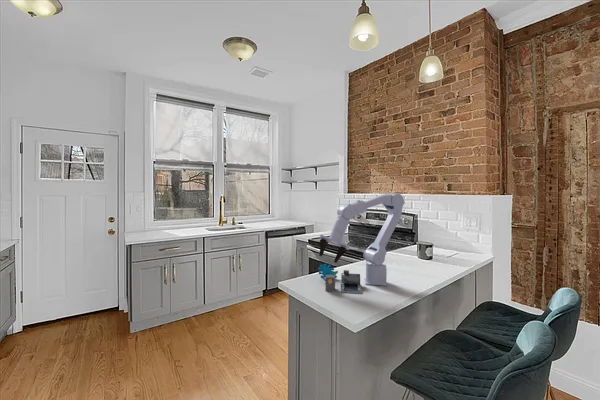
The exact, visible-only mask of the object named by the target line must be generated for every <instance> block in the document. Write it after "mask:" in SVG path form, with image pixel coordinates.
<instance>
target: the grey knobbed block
mask: <svg viewBox="0 0 600 400" xmlns="http://www.w3.org/2000/svg"><path fill="white" fill-rule="evenodd" d="M325 278H326V281H325V292H335V291H336V279H335V275H326V277H325Z"/></svg>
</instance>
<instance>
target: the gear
mask: <svg viewBox="0 0 600 400" xmlns="http://www.w3.org/2000/svg"><path fill="white" fill-rule="evenodd" d="M331 266H332V265H331V264H328V265H327V263H324V264H319V267H318V268H317V270H318V275H320V278H321V279H323V280H324V282H326V275H335V280H336V279H337V278H338V276H337V274H338V273H339V270H336V271H335V267H331Z"/></svg>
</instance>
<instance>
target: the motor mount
mask: <svg viewBox="0 0 600 400" xmlns="http://www.w3.org/2000/svg"><path fill="white" fill-rule="evenodd" d="M340 275H341V279H340V280H341V282H340V293H341V294H342V293H344V294H346V293H347V294H358V295H359V294H360V295H362V294H363V291H362V286H361V273H350V270H349V269H345V270H343V272H342V273H340Z"/></svg>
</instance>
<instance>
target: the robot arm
mask: <svg viewBox="0 0 600 400" xmlns="http://www.w3.org/2000/svg"><path fill="white" fill-rule="evenodd" d="M378 205H383V207H384V208H385V209H386V211H387V213H388V215H387V217H386V219H385V221H384V222H383V225H382V227H381V229H380V230H379V232H378V234H377V236H376V238H375V240H374V242H371V244H369V246H367V248H366V249H365V250H364V251H363V254H362V255H363V259H364V260H365V277H364V284H365V285H369V286H370V285H371V286H387V271H388V269H387V264H384V262H385V261H386V260H385V259H386V255H387V251H386V250H387V249H386V247H387V245H388V242H389V241H390V239H391V237H392V234H393V232H394V231H395V229H396V227H397V225H398V223H399V221H400V219H401V217H402V215H403V214H402V213H403V207H404V205H405V200H404V196H403V194H401V193H383V194H380V195H377V196H375V197H373V198H370V199H367V200H366V201H364V200H363V199H362V200H361V199H356V201H355V202H353V203H347V205H342V206H340V207H339V209H337V210H336V211H337V212H336V213H337V217H336V220H335V222H334V225H333V227H332V230H331V233H330V235H329V236H326V235H323V234H320V236H319V246H320V247H319V255H318V256H320V257H323V255H324V252H325V250H326V248H327V246H328V244H330V243H331V244H333V245H335V246H338V248H337V252H336V256H335V257H334V261H333V262H334V263H335V264H337V263H338V262H339V260H340V259H341V258H342V256H343V255H345V254H346V253H347V251H349V250H350V248H351V245H348V244H346V243H344V242H342V240H343V239H344V235H345V234H346V230H347V229H348V225H349V223H350V220H352V219H353V218H354V217H355V216H358V215H360V214H361V215H362V214H364V213H366V212H367V210H368V209H369V208H372V207H376V206H378Z"/></svg>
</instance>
